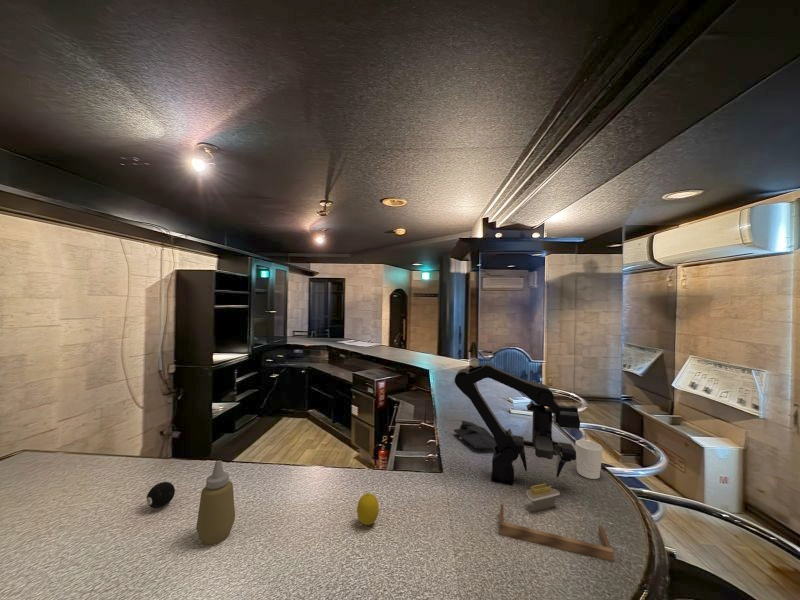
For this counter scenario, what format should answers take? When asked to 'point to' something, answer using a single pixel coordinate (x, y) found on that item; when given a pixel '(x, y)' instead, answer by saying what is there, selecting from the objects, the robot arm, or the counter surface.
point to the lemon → (367, 509)
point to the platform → (542, 497)
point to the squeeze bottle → (216, 507)
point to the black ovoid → (160, 495)
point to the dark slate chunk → (476, 436)
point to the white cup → (588, 458)
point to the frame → (557, 540)
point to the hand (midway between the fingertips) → (541, 473)
